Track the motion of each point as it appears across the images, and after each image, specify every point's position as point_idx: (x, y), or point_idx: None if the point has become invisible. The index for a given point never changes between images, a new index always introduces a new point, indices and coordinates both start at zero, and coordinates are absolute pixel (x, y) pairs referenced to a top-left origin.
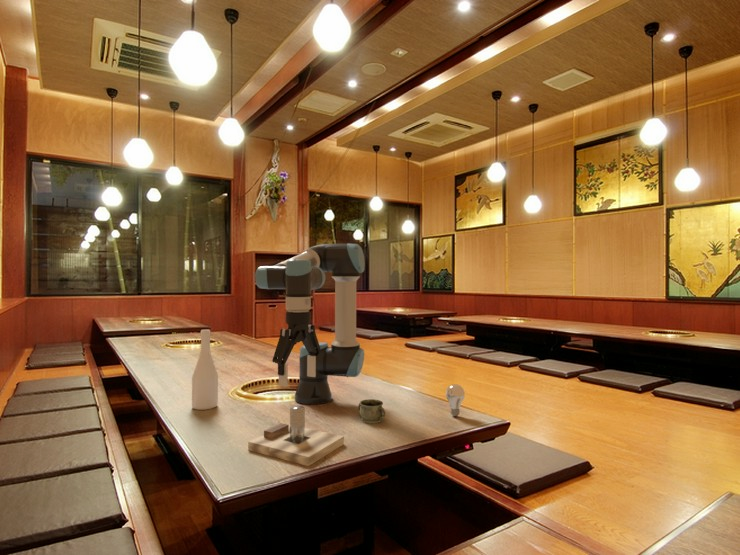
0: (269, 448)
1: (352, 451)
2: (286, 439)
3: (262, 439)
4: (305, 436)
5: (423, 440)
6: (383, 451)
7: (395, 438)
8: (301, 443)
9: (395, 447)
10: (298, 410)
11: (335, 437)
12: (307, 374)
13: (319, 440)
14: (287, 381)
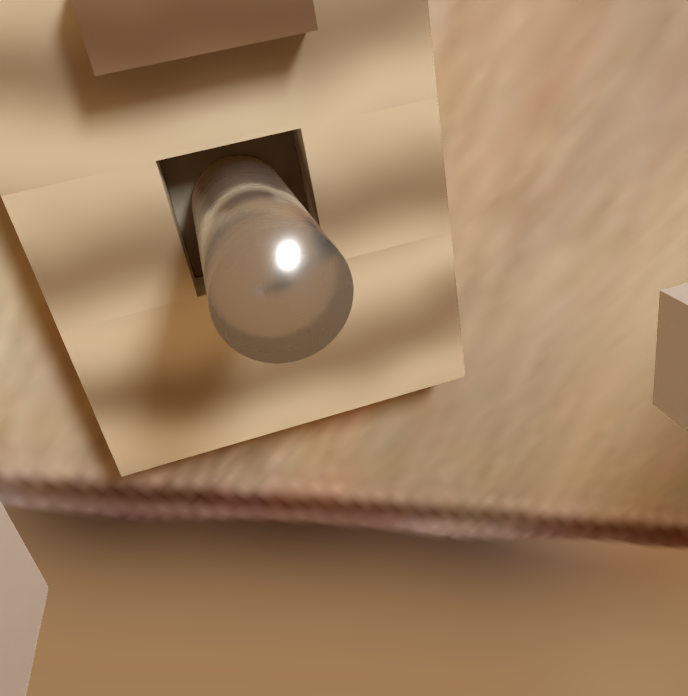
0: (4, 198)
1: (404, 443)
2: (198, 149)
3: (32, 20)
4: (318, 219)
5: (673, 530)
6: (487, 519)
7: (641, 452)
8: None
9: (551, 518)
10: (245, 352)
11: (424, 359)
12: (679, 305)
13: None
14: (31, 651)
